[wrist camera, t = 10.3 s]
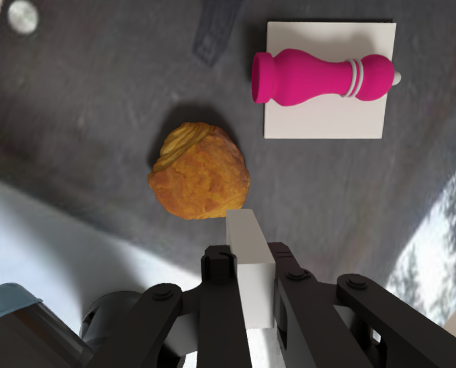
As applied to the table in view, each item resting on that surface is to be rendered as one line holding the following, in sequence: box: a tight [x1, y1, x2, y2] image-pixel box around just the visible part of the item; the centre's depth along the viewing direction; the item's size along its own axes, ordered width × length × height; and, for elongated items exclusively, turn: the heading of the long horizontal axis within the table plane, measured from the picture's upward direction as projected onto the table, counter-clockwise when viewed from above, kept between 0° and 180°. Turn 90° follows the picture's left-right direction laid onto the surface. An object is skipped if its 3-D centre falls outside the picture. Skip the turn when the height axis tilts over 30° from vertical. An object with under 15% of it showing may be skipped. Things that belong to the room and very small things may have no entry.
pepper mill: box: [252, 48, 401, 107], centre depth 38 cm, size 7×7×20 cm
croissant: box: [147, 122, 250, 220], centre depth 42 cm, size 14×16×8 cm
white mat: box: [264, 22, 396, 138], centre depth 42 cm, size 18×16×1 cm
